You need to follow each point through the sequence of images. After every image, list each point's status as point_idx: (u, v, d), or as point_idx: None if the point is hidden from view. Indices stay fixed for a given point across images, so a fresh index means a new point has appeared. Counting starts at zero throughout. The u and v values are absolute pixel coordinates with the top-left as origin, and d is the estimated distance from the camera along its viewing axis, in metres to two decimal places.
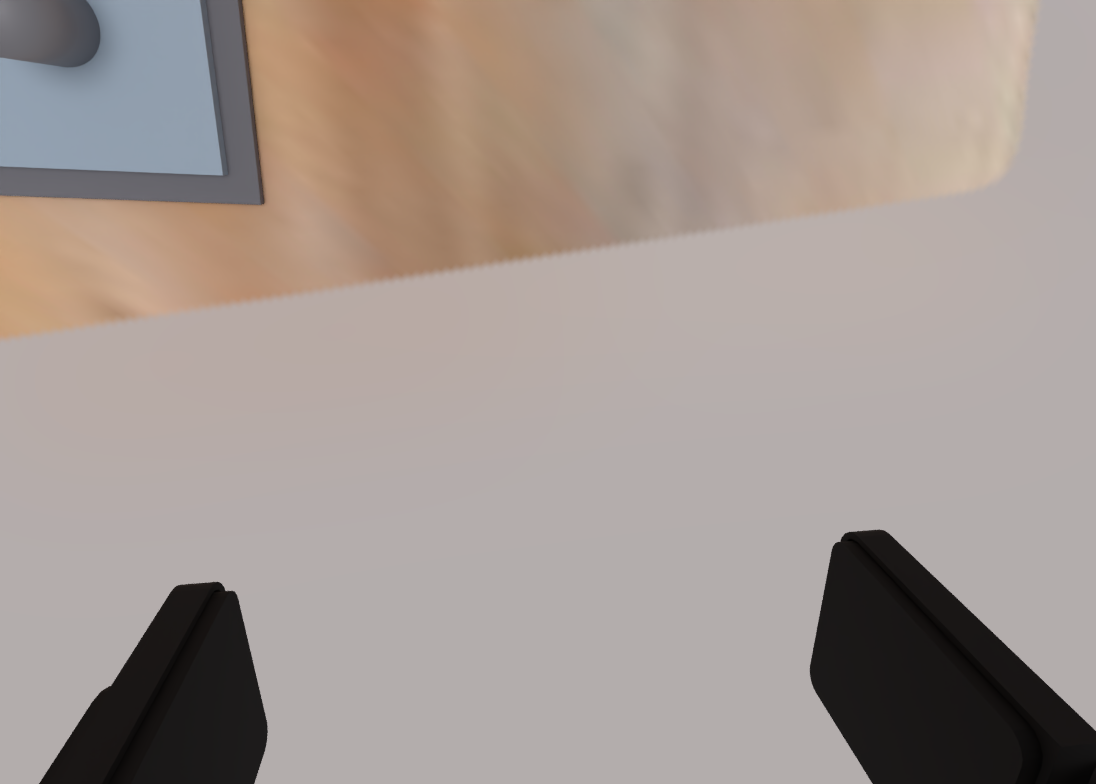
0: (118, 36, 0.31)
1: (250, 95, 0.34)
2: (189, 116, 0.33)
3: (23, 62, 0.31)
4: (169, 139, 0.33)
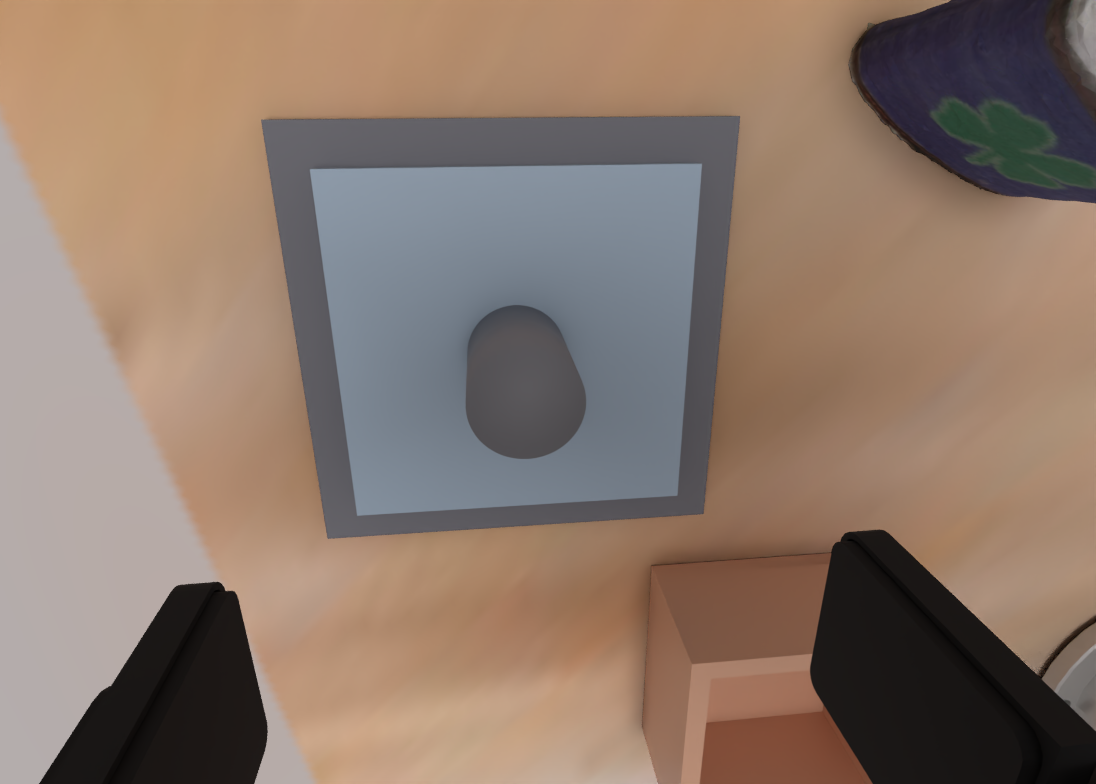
0: None
1: None
2: (425, 483, 0.25)
3: (467, 303, 0.23)
4: (393, 460, 0.25)
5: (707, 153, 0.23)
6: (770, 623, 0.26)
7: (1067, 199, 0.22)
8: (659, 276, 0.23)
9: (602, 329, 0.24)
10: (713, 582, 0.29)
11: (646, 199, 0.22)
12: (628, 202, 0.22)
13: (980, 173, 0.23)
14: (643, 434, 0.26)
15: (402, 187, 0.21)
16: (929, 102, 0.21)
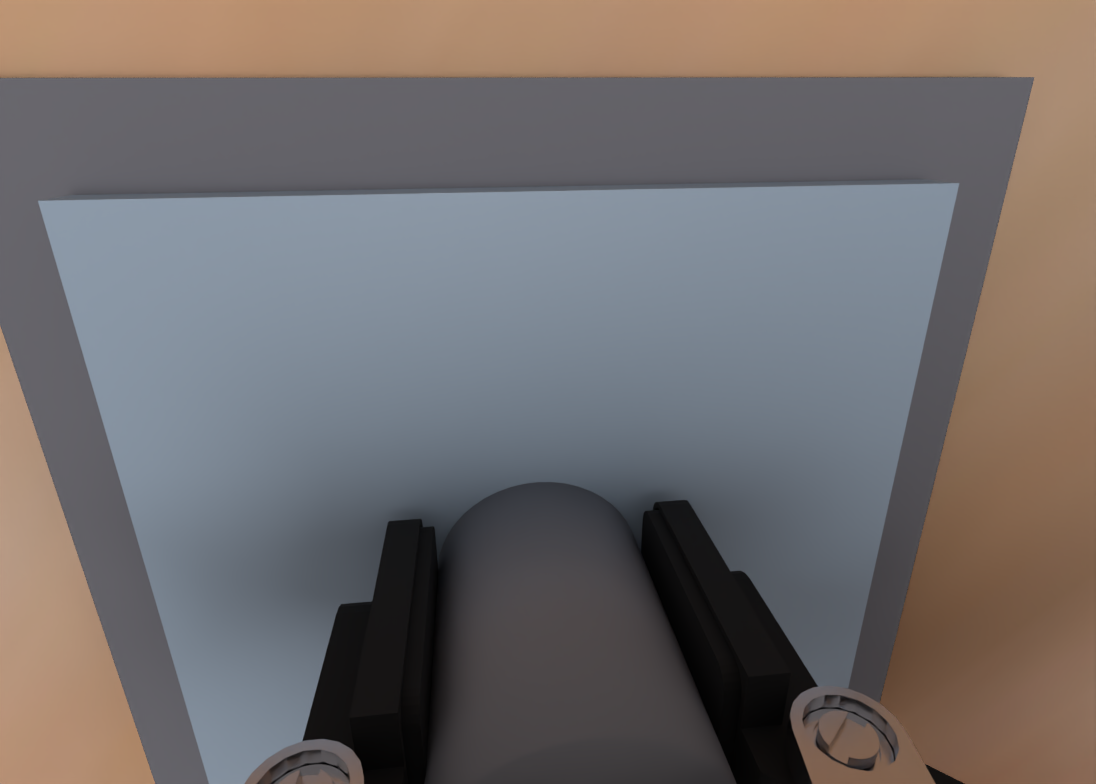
0: None
1: None
2: None
3: (435, 483, 0.11)
4: None
5: (954, 159, 0.10)
6: None
7: None
8: (839, 417, 0.11)
9: (715, 520, 0.12)
10: None
11: (830, 262, 0.10)
12: (791, 269, 0.10)
13: None
14: None
15: (274, 241, 0.09)
16: None
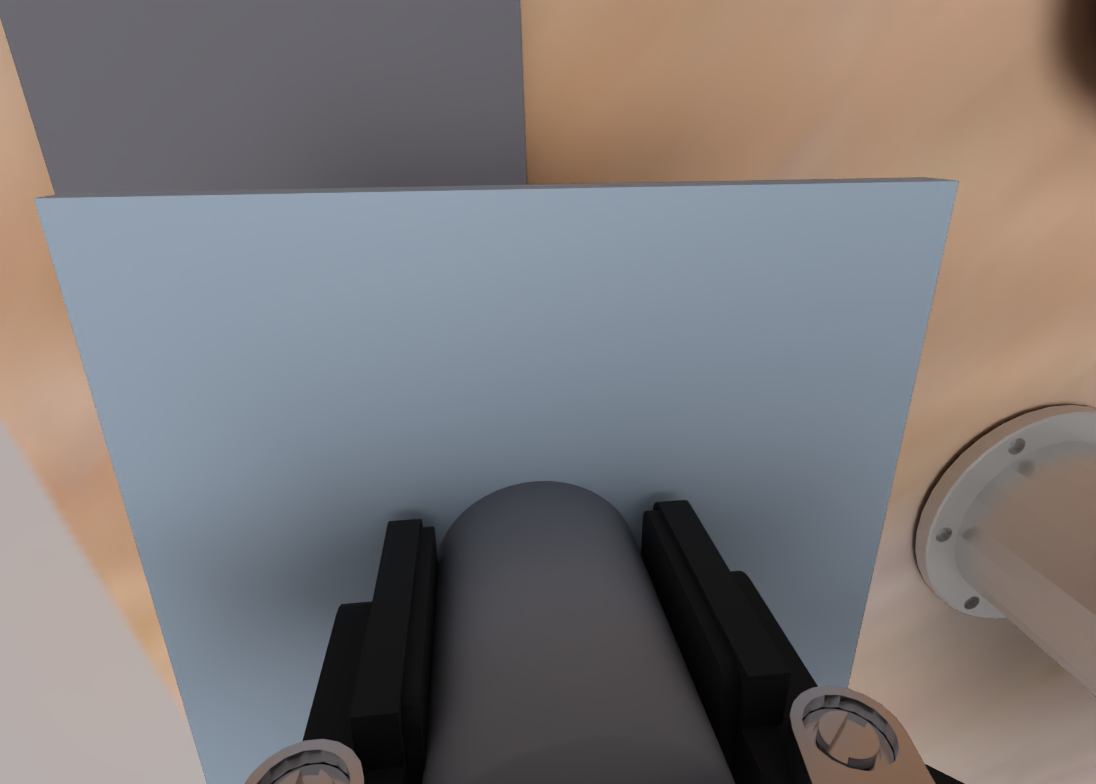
0: None
1: None
2: None
3: (433, 482, 0.11)
4: None
5: None
6: None
7: None
8: (839, 416, 0.11)
9: (714, 519, 0.12)
10: None
11: (829, 260, 0.10)
12: (790, 267, 0.10)
13: None
14: None
15: (271, 239, 0.09)
16: None
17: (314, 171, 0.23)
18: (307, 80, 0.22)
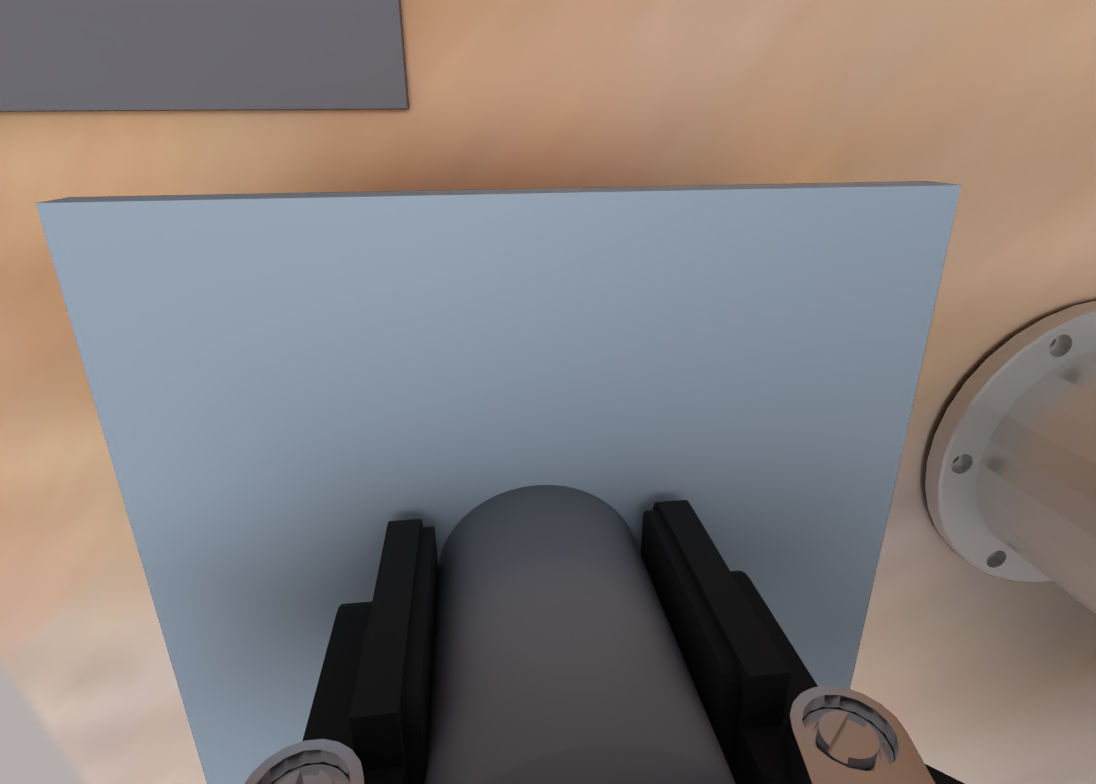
0: None
1: (35, 110, 0.19)
2: None
3: (434, 486, 0.11)
4: None
5: None
6: None
7: None
8: (841, 420, 0.11)
9: (716, 523, 0.12)
10: None
11: (832, 264, 0.10)
12: (792, 271, 0.10)
13: None
14: None
15: (273, 243, 0.09)
16: None
17: None
18: None
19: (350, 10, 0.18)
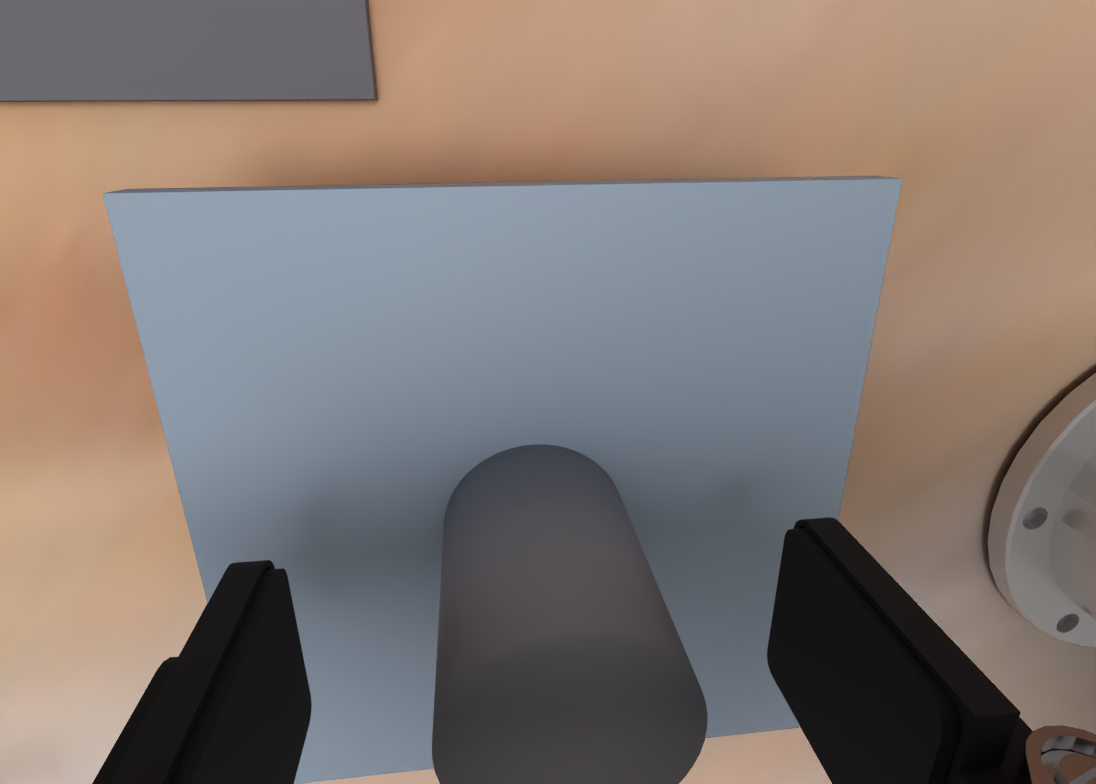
0: None
1: None
2: (373, 735, 0.15)
3: (442, 444, 0.12)
4: (314, 704, 0.14)
5: None
6: None
7: None
8: (801, 387, 0.13)
9: (692, 480, 0.13)
10: None
11: (790, 248, 0.11)
12: (755, 254, 0.11)
13: None
14: (751, 643, 0.15)
15: (304, 229, 0.10)
16: None
17: None
18: None
19: None
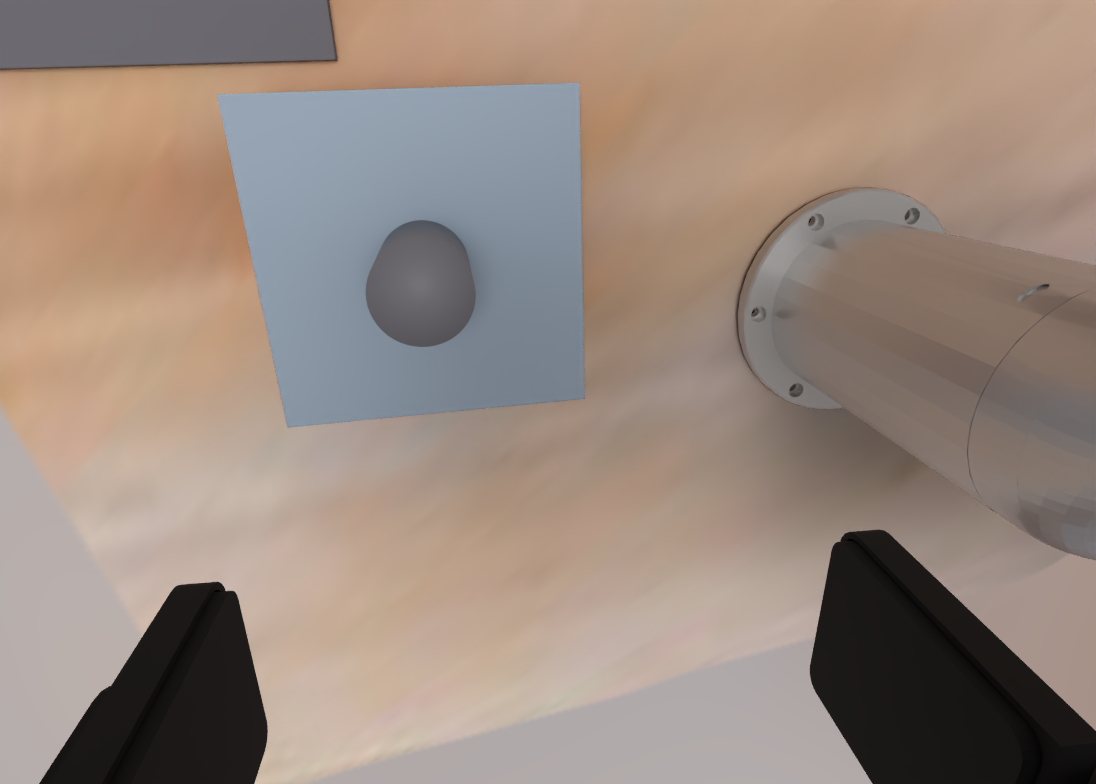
0: None
1: (78, 66, 0.27)
2: (349, 394, 0.28)
3: (374, 220, 0.25)
4: (317, 372, 0.27)
5: None
6: None
7: None
8: (549, 190, 0.26)
9: (501, 241, 0.26)
10: None
11: (531, 117, 0.25)
12: (515, 120, 0.25)
13: None
14: (548, 341, 0.28)
15: (304, 110, 0.23)
16: None
17: None
18: None
19: None
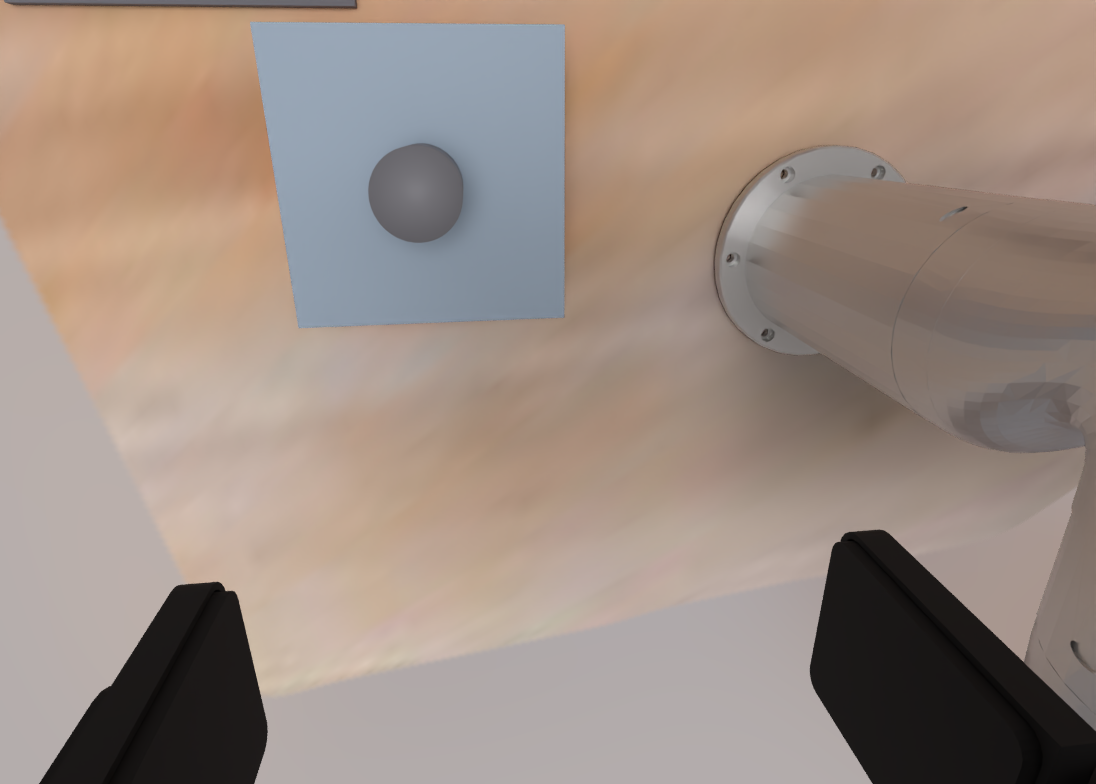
0: (421, 242, 0.31)
1: (131, 4, 0.31)
2: (354, 300, 0.31)
3: (381, 141, 0.29)
4: (326, 278, 0.31)
5: None
6: None
7: None
8: (536, 121, 0.29)
9: (492, 166, 0.30)
10: None
11: (521, 54, 0.28)
12: (507, 56, 0.28)
13: None
14: (532, 261, 0.32)
15: (324, 39, 0.27)
16: None
17: None
18: None
19: None
